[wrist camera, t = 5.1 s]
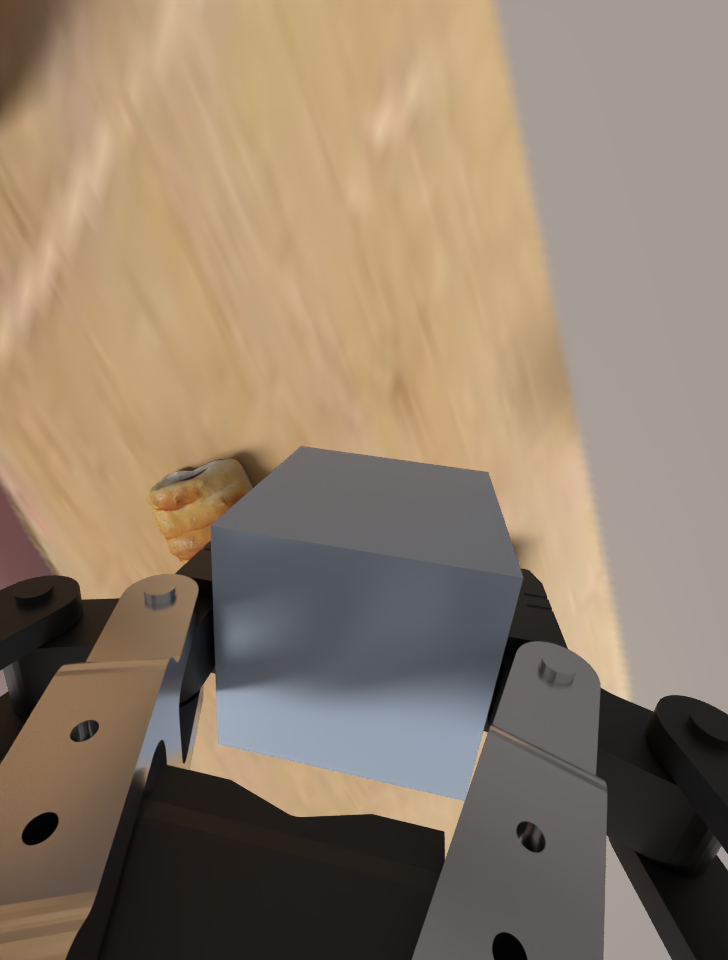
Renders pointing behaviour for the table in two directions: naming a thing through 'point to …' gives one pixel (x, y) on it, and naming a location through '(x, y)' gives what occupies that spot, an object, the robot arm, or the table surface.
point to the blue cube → (363, 617)
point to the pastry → (196, 503)
